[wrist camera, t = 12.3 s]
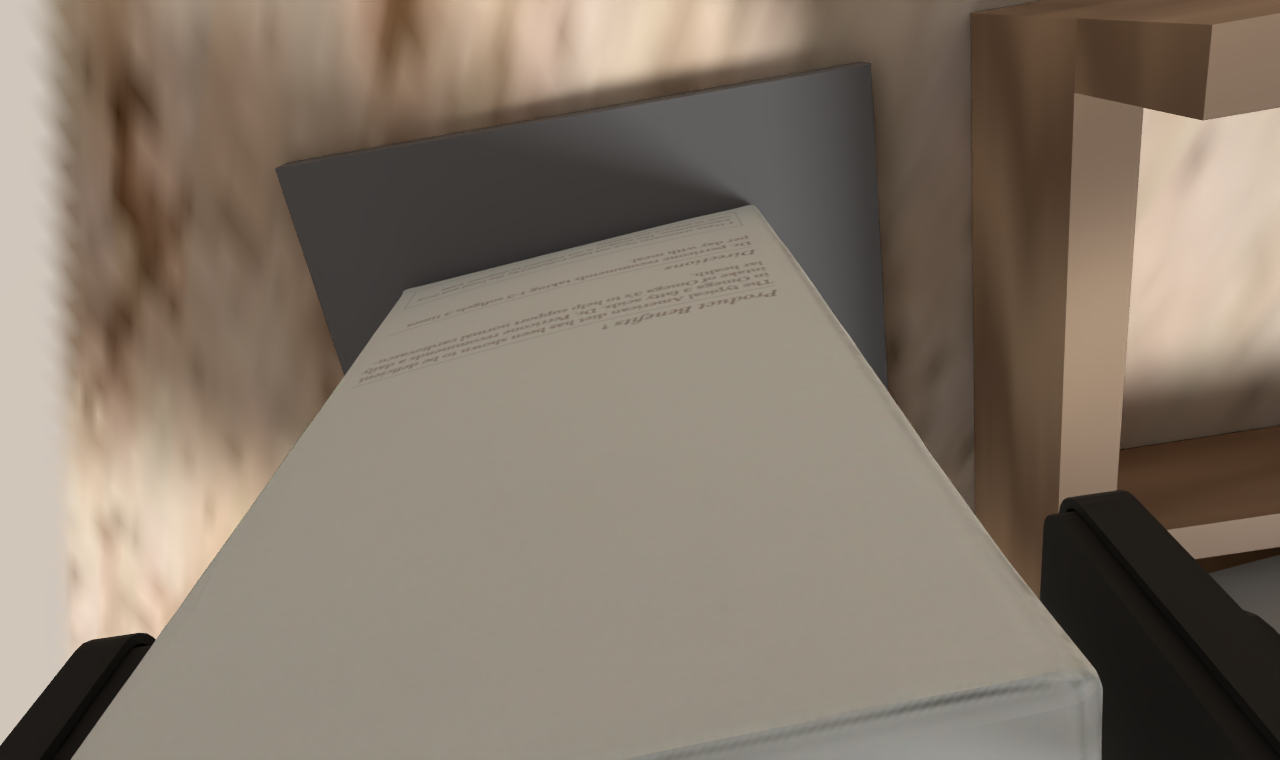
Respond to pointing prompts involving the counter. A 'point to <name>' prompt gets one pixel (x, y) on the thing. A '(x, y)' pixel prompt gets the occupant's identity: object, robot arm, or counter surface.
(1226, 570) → the upper offcut
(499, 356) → the supplement box
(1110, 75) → the walnut rack
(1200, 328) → the counter surface
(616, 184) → the rubber mat
